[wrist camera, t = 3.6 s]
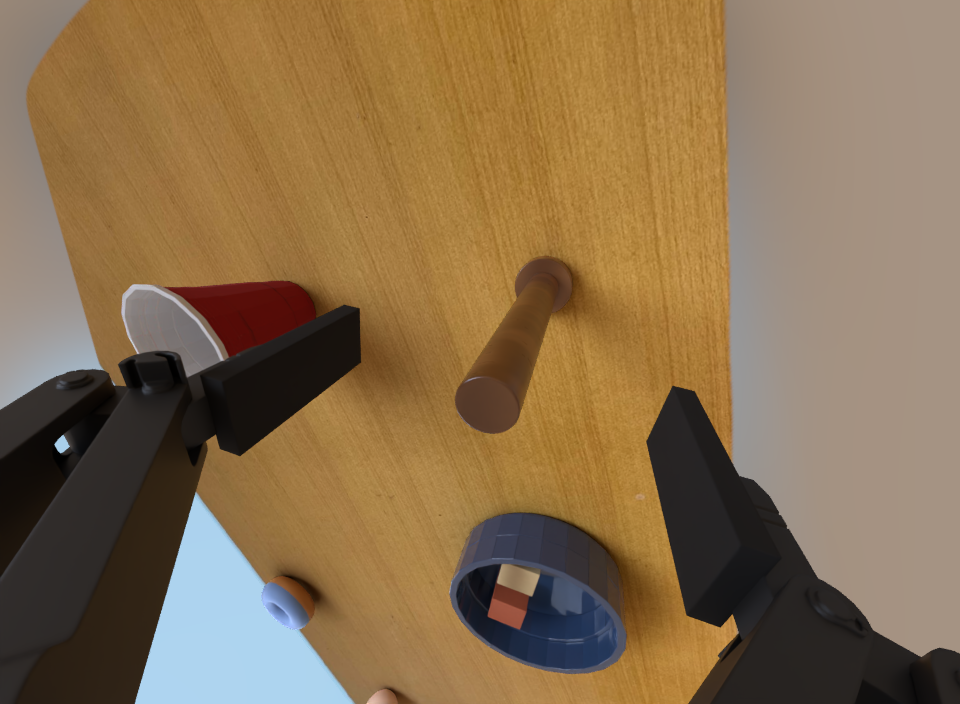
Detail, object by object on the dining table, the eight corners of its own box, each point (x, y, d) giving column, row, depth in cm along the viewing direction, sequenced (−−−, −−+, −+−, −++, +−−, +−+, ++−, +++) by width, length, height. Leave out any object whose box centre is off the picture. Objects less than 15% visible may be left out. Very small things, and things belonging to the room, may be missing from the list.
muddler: (579, 262, 26) (563, 369, 11) (565, 315, 29) (534, 470, 13) (523, 251, 27) (433, 335, 12) (513, 303, 29) (425, 436, 14)
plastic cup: (230, 267, 36) (85, 300, 26) (307, 242, 32) (173, 269, 22) (277, 360, 40) (167, 421, 30) (352, 348, 36) (255, 413, 26)
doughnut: (271, 586, 66) (250, 612, 62) (278, 562, 61) (256, 588, 57) (315, 614, 65) (297, 642, 61) (326, 592, 60) (308, 621, 56)
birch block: (544, 541, 39) (540, 575, 36) (537, 562, 41) (532, 597, 38) (510, 529, 40) (502, 561, 37) (504, 550, 42) (496, 583, 38)
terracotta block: (531, 577, 42) (526, 611, 39) (525, 595, 44) (519, 630, 41) (500, 565, 43) (492, 598, 40) (495, 583, 45) (487, 617, 42)
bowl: (646, 546, 36) (655, 606, 31) (594, 635, 45) (595, 694, 40) (476, 489, 40) (459, 534, 34) (458, 582, 48) (442, 630, 43)
